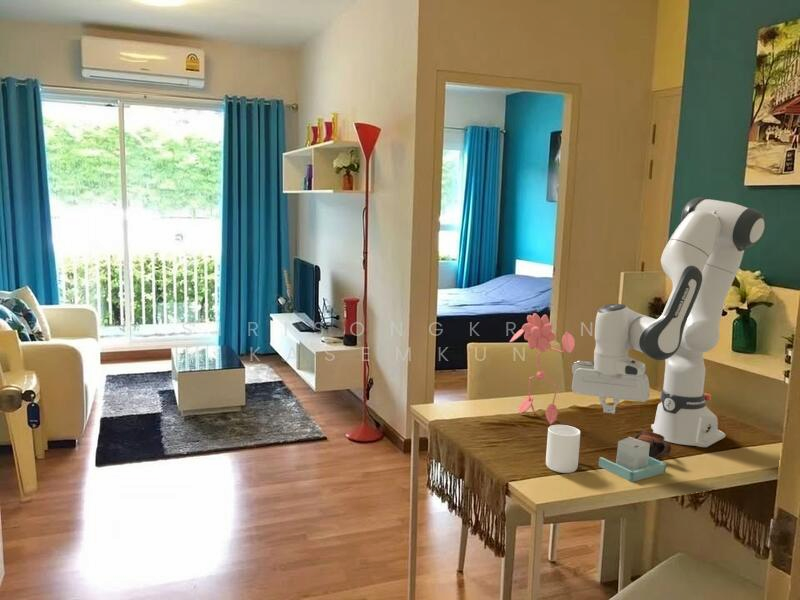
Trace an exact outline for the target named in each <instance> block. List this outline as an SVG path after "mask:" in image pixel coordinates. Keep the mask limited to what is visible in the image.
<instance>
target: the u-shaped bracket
mask: <svg viewBox="0 0 800 600" xmlns="http://www.w3.org/2000/svg"><path fill="white" fill-rule="evenodd" d="M598 467H599V468H602V469H604V470H607V471H609V472H611V473H612V474H614V475H617V476H619V477H621V478H623V479H625V480H626V481H630V482H631V483H634V482H637V481H640V480H643V479H644V480H645V479H647V478H650V477H654V476H657V475H661V474H665V473H666V470H667V463H665V462H664V461H661V460H658V459H656V458H655V459H654V458H652V457H649V459H648V467H646V468H642V469H639V470H635V471H631V470H629V469H627V468H624V467H622V466H620V465H618V464H616V462H613V461H611V460H608V458H607V459H606V458H604V457H602V456H600V457H599V458H598Z"/></svg>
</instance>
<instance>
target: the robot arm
mask: <svg viewBox="0 0 800 600" xmlns="http://www.w3.org/2000/svg"><path fill="white" fill-rule="evenodd" d="M765 228H766V219H765V217H764V213H762V212H761V211H759V210H757V209H754V208H752V207H746V206H744V205H740V204H738V203H734V202H730V201H723V200H716V199H709V198H708V197H694V198H693V199H691V200H689V201H687V203H686V204H685V205H684V206H683V209H682V211H681V214H680V223H679V224H678V226H677V227H676V228H675V230H674V232H673V233H672V234H671V237H670V238H669V240H668V242H667V243H666V245H665V247H664V249H663V251H662V254H661V257H660V264H661V268H662V270H663V272H664V274H665V275H666V276H667V277H668V278H669V279H670V281H671V283H672V290H671V293H670V295H669V298H668V299H667V302H666V304H665V307H664V309H663V312H661V315H660V316H659V317H658V318H654V317H651V316H648V315H645V314H641V313H639V312H636V311H634V310H632V309H631V308H629V307H628V306H627V305H625V304H622V303H611V304H606V305H603V306H601V307H600V308H599V309H598V310H597V313H596V317H595V324H594V340H595V347H594V349H593V350H594V351H593V361H584V360H578V361H575V362H574V363H573V364H572V366H571V372H572V374H573V376H572V383H571V384H572V385H571V391H572V393H574V394H577V395H583V396H591V397H599V402H600V404H601V406H602V407H603V408H602V411H603V412H602V413H607V414H612V415H614V414H615V413H616V407H617V406H618V404H619V403H620V400H624V401H625V400H626V401H632V402H641V403H645V402H647V401H648V400H649V398H650V382H649V377H648V374H646V373H645V371H646V364H645V363H644V362H642V361H640V360H637V359H634V358H632V357H630V356H629V351H630V350H635V351H638V352H639V353H643V354H644V355H646V356H648V357H649V358H651V359H653V360H656V361H663V360H665V369H664V377H663V378H664V379H663V386H662V387H663V388H662V389H661V392H660V403H658V405H657V409H656V413H655V419H654V423H652V424H650V425H651V426H650V428H651V429H652V432H653V433H657V434H660V435H662V436H663V437H664V438H665V439H664V441H666V442H668V443H673V444H676V445H683V446H684V445H685V446H696V447H700V448H708V447H709V446H712V445H714V444H715V443H717V442H718V441H720V440H723V439H725V438H726V432H723V431H721V430H720V429H718V425H719V424H718V423H719V422H718V421H719V420H718V419H719V418H718V417H717V415H716V414H715V413H713V411H711V410H710V409H709V408H708V407H707V403H706V401H708V402H710V401H711V400H712V394H710V393H706V392H704V387H705V377H706V370H707V369H706V365H705V361H704V353H706V352H710V351H712V350H713V349H714V348H715V347H716V346H717V345H718V343H719V341H720V324H721V320H722V314H723V312H724V311H723V310H724V305H725V302H726V299H727V296H728V294H729V292H730V289H731V287H732V286H733V282H734V280H735V277H736V276H737V274H738V271H739V269H740V266H741V263H742V260H743V258H744V257H743V256H744V254H745V250H747V248H751V247H752V246H754V245H755V244H757V242H759V240H760V239H761V238H762V236H763V235H764V231H765V230H766V229H765ZM607 398H608V399H612V402H613V403H614V404H613V405H609V404H607V401H606V399H607Z"/></svg>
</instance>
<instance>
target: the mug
mask: <svg viewBox="0 0 800 600" xmlns="http://www.w3.org/2000/svg"><path fill="white" fill-rule="evenodd" d="M547 430H548V431H547V439H546V453H545V465H546V467H547V468H548V470H551V471H552V472H557V473H560V474H571V473H574V472H576V470H577V469H578V468H579V456H580V443H581V430H580V429H578V428H576V427H574V426H572V425H571V426H570V425H567V424H566V425H565V424H553V425H552V424H551V425H550V426H549V427H547Z"/></svg>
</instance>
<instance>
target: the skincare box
mask: <svg viewBox="0 0 800 600" xmlns="http://www.w3.org/2000/svg"><path fill="white" fill-rule="evenodd" d="M616 448H617V449H616V461H615V463H616V464H618V465H620V466H622V467H624V468H627V469H629V470H631V471H635V470H639V469H642V468H646V467H649V466H648V459H649V448H650V444H649V443H647V442H644V441H641V440H638V439H635V438H634V437H631V436H628V437H626V438H623V439H621V440H618V441H617V447H616Z"/></svg>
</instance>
